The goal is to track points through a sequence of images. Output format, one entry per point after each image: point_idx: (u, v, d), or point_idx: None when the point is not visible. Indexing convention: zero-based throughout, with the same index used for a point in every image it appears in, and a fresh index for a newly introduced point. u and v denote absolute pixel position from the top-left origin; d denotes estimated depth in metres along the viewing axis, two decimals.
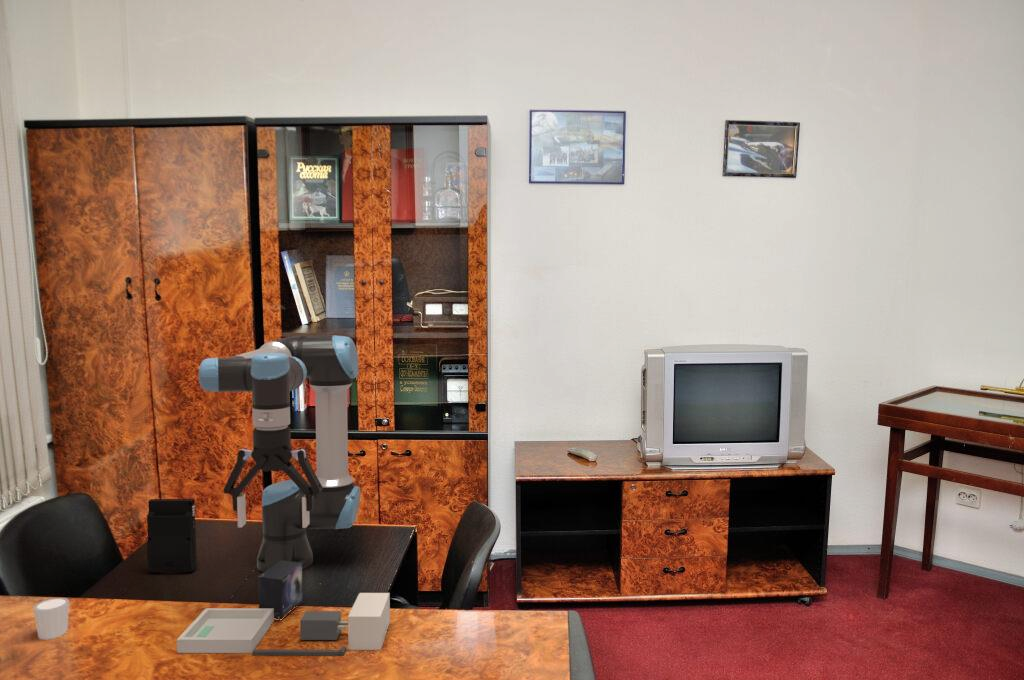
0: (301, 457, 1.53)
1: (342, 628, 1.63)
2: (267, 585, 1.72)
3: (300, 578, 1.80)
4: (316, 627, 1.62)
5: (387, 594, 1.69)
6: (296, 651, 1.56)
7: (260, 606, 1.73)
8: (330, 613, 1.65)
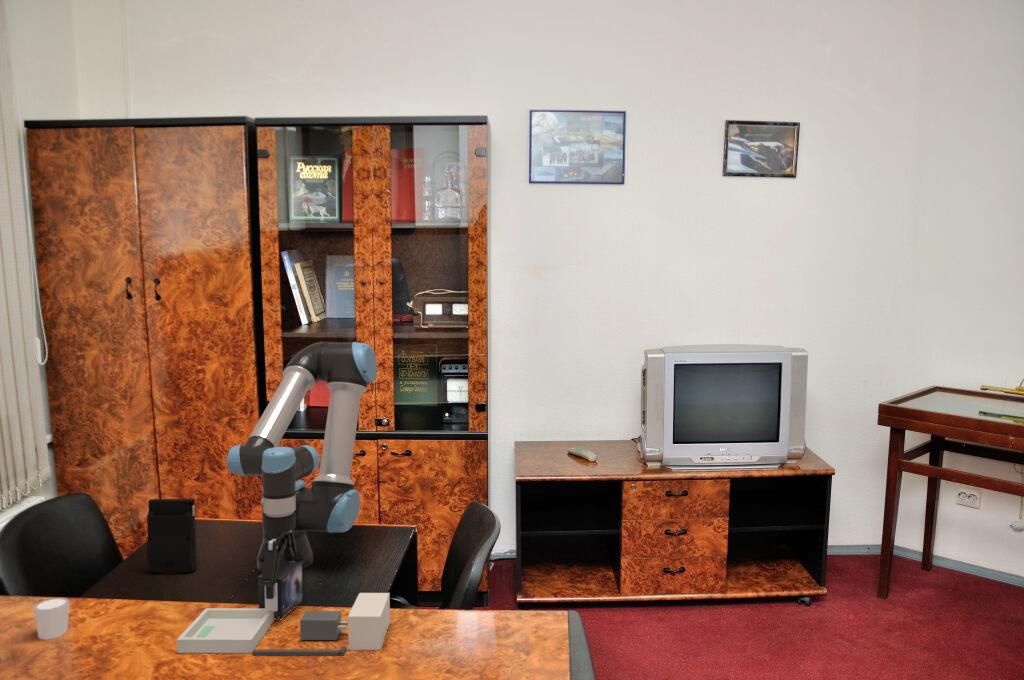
0: None
1: (342, 628, 1.63)
2: None
3: (300, 578, 1.80)
4: (316, 627, 1.62)
5: (387, 594, 1.69)
6: (296, 651, 1.56)
7: (260, 606, 1.73)
8: (330, 613, 1.65)
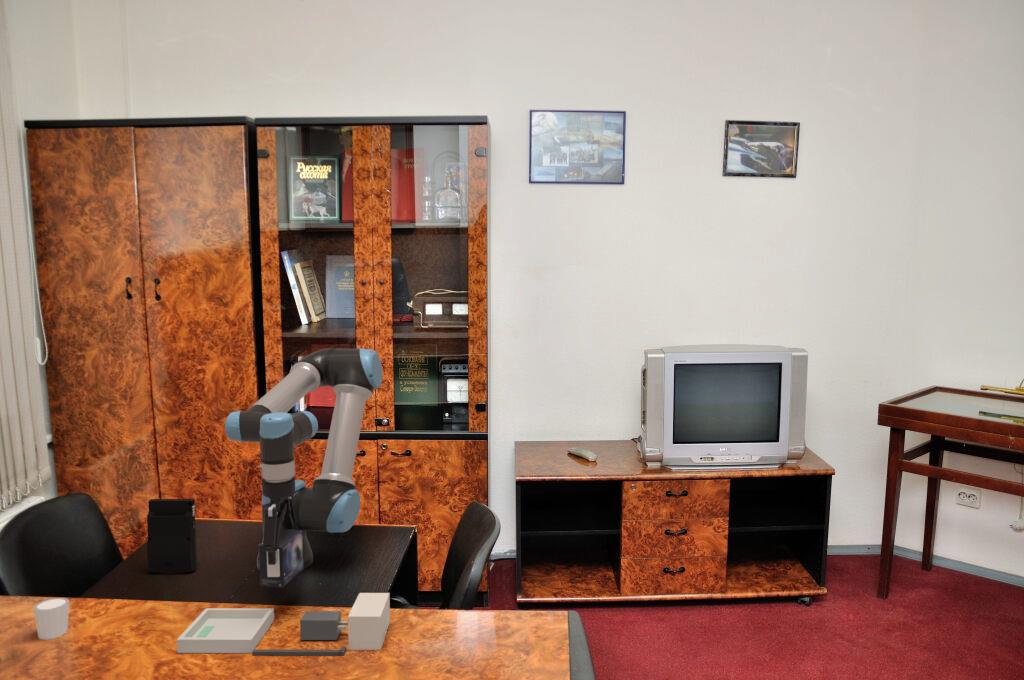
0: None
1: (342, 628, 1.63)
2: None
3: (300, 545, 1.80)
4: (316, 627, 1.62)
5: (387, 594, 1.69)
6: (296, 651, 1.56)
7: (261, 574, 1.73)
8: (330, 613, 1.65)
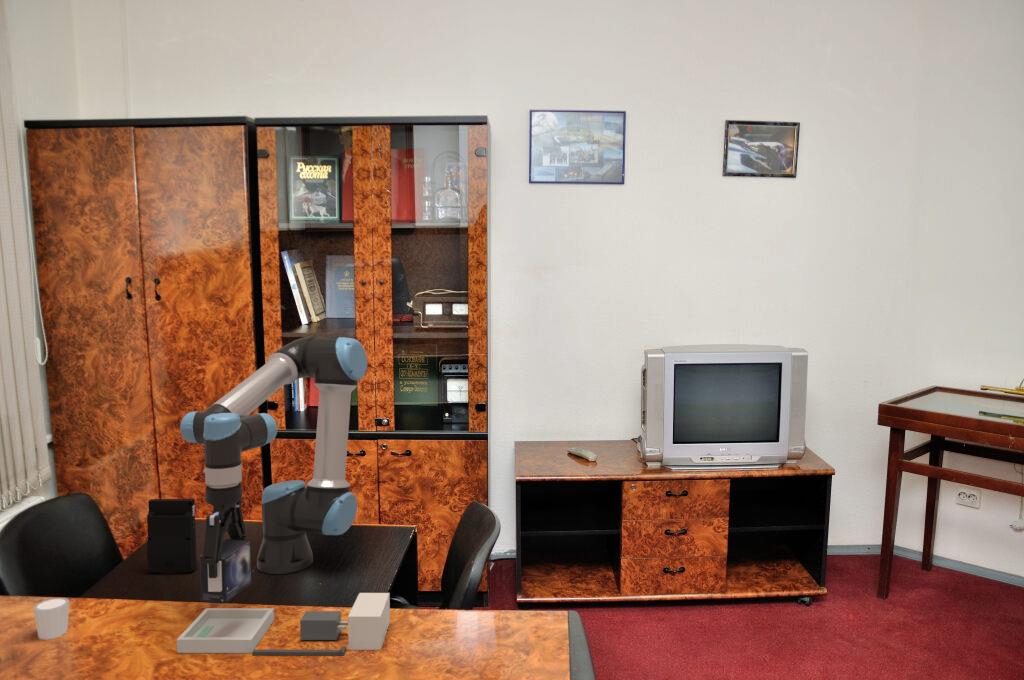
0: None
1: (342, 628, 1.63)
2: None
3: (248, 558, 1.66)
4: (316, 627, 1.62)
5: (387, 594, 1.69)
6: (296, 651, 1.56)
7: (202, 588, 1.59)
8: (330, 613, 1.65)
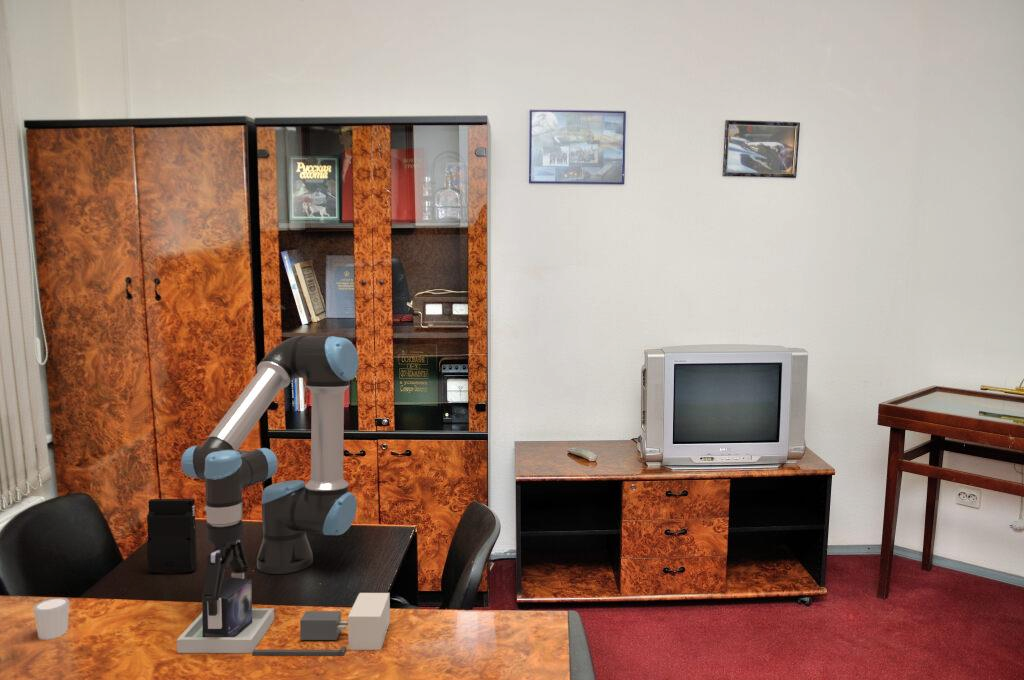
0: None
1: (342, 628, 1.63)
2: None
3: (249, 596, 1.67)
4: (316, 627, 1.62)
5: (387, 594, 1.69)
6: (296, 651, 1.56)
7: (204, 628, 1.59)
8: (330, 613, 1.65)
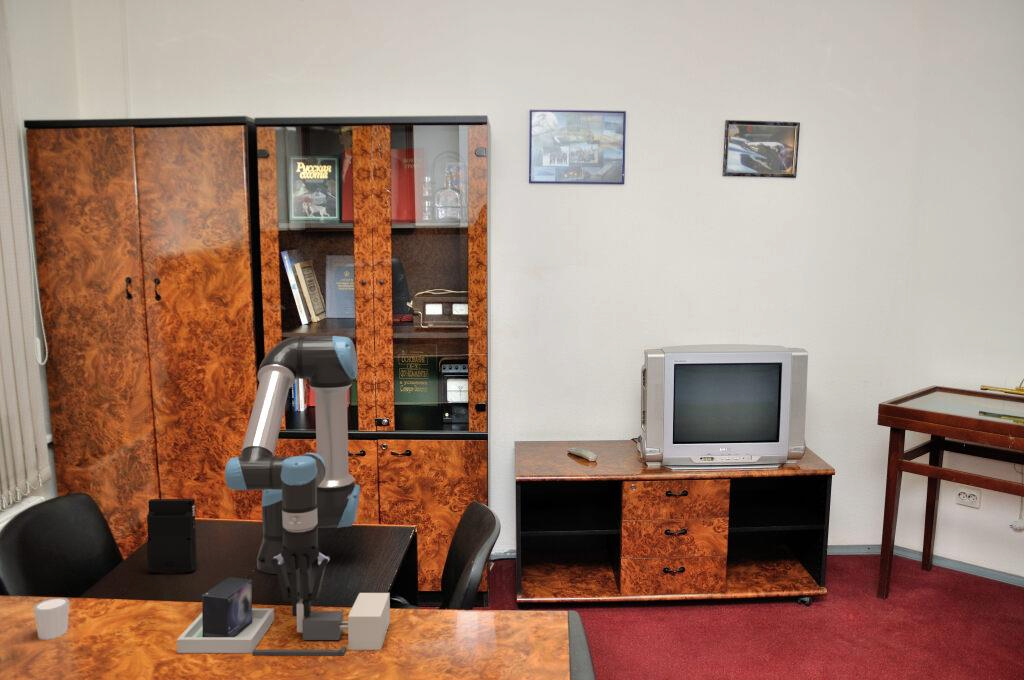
0: (323, 565, 1.62)
1: (344, 628, 1.63)
2: (212, 605, 1.59)
3: (249, 596, 1.67)
4: (319, 627, 1.62)
5: (387, 594, 1.69)
6: (296, 651, 1.56)
7: (204, 628, 1.59)
8: (333, 613, 1.65)
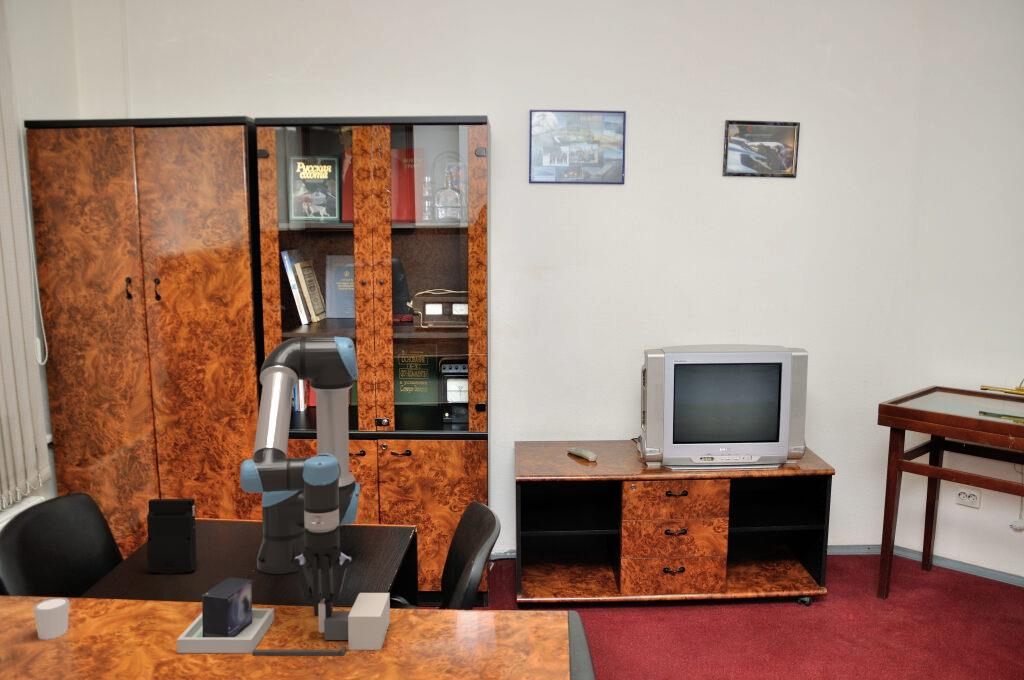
0: (345, 565, 1.62)
1: None
2: (212, 605, 1.59)
3: (249, 596, 1.67)
4: (341, 627, 1.62)
5: (387, 594, 1.69)
6: (296, 651, 1.56)
7: (204, 628, 1.59)
8: None
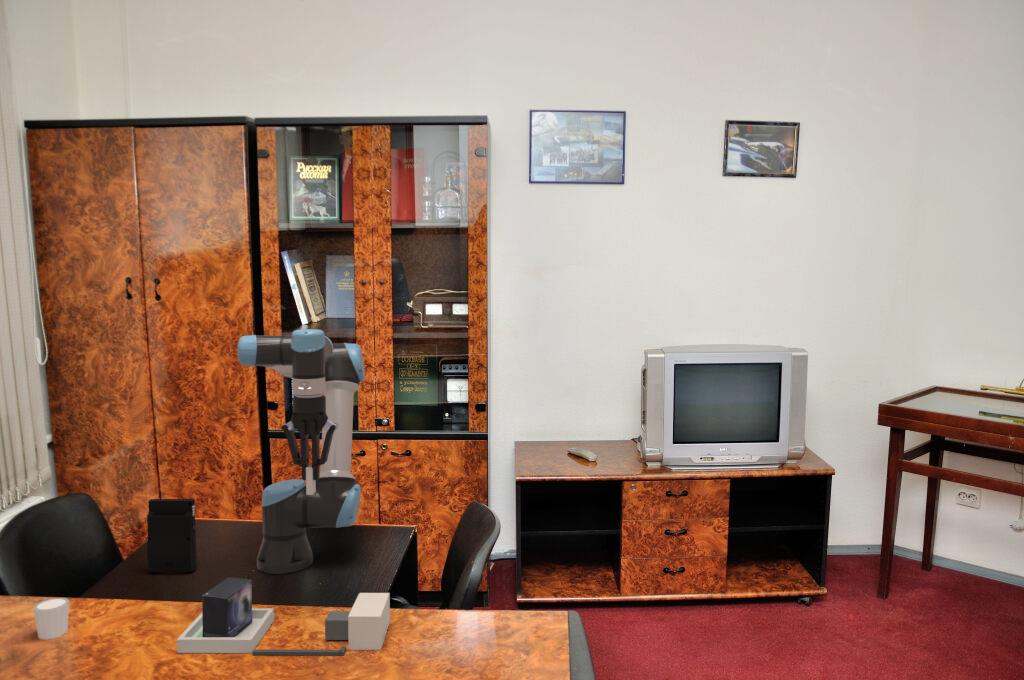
0: (331, 430, 1.72)
1: None
2: (212, 605, 1.59)
3: (249, 596, 1.67)
4: (341, 627, 1.62)
5: (387, 594, 1.69)
6: (296, 651, 1.56)
7: (204, 628, 1.59)
8: None
